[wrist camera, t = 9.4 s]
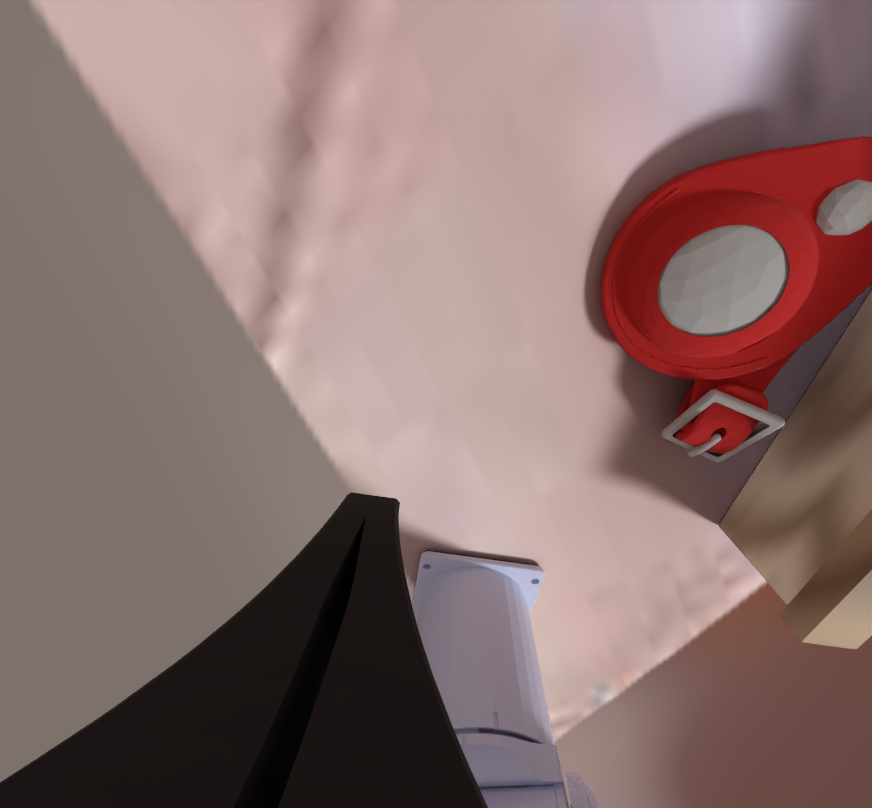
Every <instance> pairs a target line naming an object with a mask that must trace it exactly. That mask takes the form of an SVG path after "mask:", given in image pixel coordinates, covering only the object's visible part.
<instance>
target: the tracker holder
mask: <svg viewBox="0 0 872 808" xmlns="http://www.w3.org/2000/svg"><path fill="white" fill-rule="evenodd" d="M871 283H872V138H871V137H855V138H848V139H840V140H834V141H828V142H822V143H816V144H810V145H803V146H797V147H791V148H779V149H773V150H767V151H761V152H756V153H752V154H748V155H743V156H739V157H735V158H731V159H726V160H722V161H718V162H715V163H712V164H709V165H706V166H703V167H699V168H696V169H694V170H691V171H689V172H686V173H684V174H681V175H679V176H677V177H675V178H673V179H671V180H670V181H668V182H667V183H665V184H664V185H662V186H660V187H659V188H658V189H657V190H655V191H654V192H653V193H652V194H650V195H649V196H648V197H647V198H646V199H645V200H644V201H643V202H642V203H641V204H640V205H639V206H638V207H637V208H636V209H635V210H634V211H633V212H632V214H631V215H630V216H629V217H628V219H627V220H626V221H625V222H624V224H623V225H622V227H621V229H620V230H619V232H618V234H617V235H616V237H615V239H614V241H613V243H612V245H611V248H610V250H609V252H608V255H607V258H606V261H605V265H604V269H603V275H602V285H601V299H602V307H603V312H604V316H605V319H606V322H607V325H608V327H609V329H610V331H611V333H612V334H613V336H614V338H615V339H616V341H617V342H618V343H619V345H620V346H621V347H622V348H623V349H624V350H625V351H626V352H627V353H628V354H629V355H630V356H631V357H633V358H634V359H635V360H636V361H638V362H640V363H641V364H643V365H645V366H647V367H648V368H650V369H652V370H655V371H657V372H660V373H662V374H666V375H669V376H673V377H678V378H684V379H694V380H695V382H694V383H693V385H692V386H691V388H690V390H689V391H688V393H687V395H686V397H685V399H684V401H683V403H682V405H681V407H680V409H679V411H678V414H677V417H676V420H674V421H673V422H672V423H671V424H670V425H668V426H667V427H666V428H665V429H664V430H663V431H662V432H661V436H662V437H663V438H665V439H667V440H669V441H671V442H673V443H675V444H678V445H680V446H682V447H684V448H686V449H688V450H689V451H688V453H687V454H688V456H690V457H695V456H697V455H698V454H699V455H701V456H703V457H705V458H708V459H710V460H712V461H714V462H716V463H720V462H722V461H724V460H726V459H727V458H729V457H731V456H733V455H734V454H736V453H738V452H740V451H741V450H743V449H745V448H746V447H748V446H750V445H752V444H753V443H755V442H757V441H759V440H760V439H762V438H764V437H766V436H767V435H769V434H771V433H772V432H774V431H776V430H778V429H779V428H781V427H783V426H784V425H785V420H784V419H783V418H782V417H780V416H778V415H775V414H773V413H771V412H768V411H767V408H768V401H767V399H766V397H765V396H764V395H763V394H762V393H763V392H764V390H765V389H766V388H767V386H768V385H769V384H770V382H771V381H772V379H773V378H774V377H775V375H776V374H777V373H778V371H779V370H780V369H781V368H782V367H783V365H784V364H785V363H786V362H787V361H788V360H789V359H790V358H791V356H792V355H793V354H794V353H795V352H796V351H797V350H798V349H799V347H800V346H801V345H803V344H804V343H805V342H807V341H808V340H809V339H810V338H812V337H813V336H814V335H815V334H817V333H818V332H819V331H820V330H822V329H823V328H824V327H825V326H826V325H827V324H828V323H829V322H830V321H832V320H833V319H834V318H835V317H836V316H837V315H838V314H839V313H841V312H842V311H843V310H844V309H845V308H846V307H847V306H848V305H849V304H850V303H851V302H853V301H854V300H855V299H856V298H857V297H858V296H859V295H860V294H861V293H862V292H863V291H864V290H865V289H866V288H867V287H868V286H869V285H870V284H871ZM759 421H762V422H764V423H763V424H762V425H760V426H758V427H757V428H755V426H756V425H757V424H758V422H759ZM754 428H755V429H754ZM753 429H754V430H753Z"/></svg>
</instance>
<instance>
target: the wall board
mask: <svg viewBox="0 0 872 808" xmlns="http://www.w3.org/2000/svg"><path fill="white" fill-rule="evenodd" d="M718 526H719V527H720V528H721V529H722V530H723V532H724V533H725V534H726V535H727V536H728V537H729V538H730V540H731V541H732V542H733V543H734V544H735V545H736V546H737V548H738V549H739V550H740V551H741V552H742V553H743V555H744V556H745V557H746V558H747V559H748V560H749V561H750V563H751V564H752V565H753V566H754V567H755V568H756V569H757V571H758V572H759V573H760V574H761V575H762V576H763V577H764V579H765V580H766V581H767V582H768V583H769V584H770V585H771V587H772V588H773V589H774V590H775V591H776V592H777V593H778V595H779V596H780V597H781V598H782V599H783V600H784V602H785V603H786V604H787V606H786V607H785V609H784V610H783V611H782V612H781V613H780V614H779V615H780V617H781V618H782V619H783V620H784V621H785V623H786V624H787V625H788V626H789V627H790V629H791V630H792V631H793V632H794V633H795V635H796V636H797V637H798V638H799V639H800V641H801V642H806V643H814V644H821V645H828V646H836V647H843V648H851V649H857V648H858V647H859V646H860V645H862V644H863V643H864V642H865V641H866V640H867V639H868V638H869V637H870V636H871V635H872V291H871V292H870V294H869V295H868V297H867V298H866V300H865V301H864V303H863V304H862V306H861V307H860V309H859V310H858V312H857V314H856V315H855V317H854V318H853V320H852V321H851V323H850V324H849V326H848V327H847V329H846V330H845V332H844V333H843V335H842V337H841V338H840V340H839V341H838V343H837V344H836V346H835V347H834V349H833V350H832V352H831V353H830V355H829V357H828V358H827V360H826V361H825V363H824V364H823V366H822V367H821V369H820V370H819V372H818V373H817V375H816V376H815V378H814V380H813V381H812V383H811V384H810V386H809V387H808V389H807V390H806V392H805V393H804V395H803V396H802V398H801V400H800V401H799V403H798V404H797V406H796V407H795V409H794V410H793V412H792V413H791V415H790V416H789V418H788V419H787V421H786V423H785V425H784V426H783V427H782V429H781V430H780V432H779V433H778V435H777V436H776V438H775V439H774V441H773V442H772V444H771V446H770V447H769V449H768V450H767V452H766V453H765V455H764V456H763V458H762V459H761V461H760V462H759V464H758V466H757V467H756V469H755V470H754V472H753V473H752V475H751V476H750V478H749V479H748V481H747V482H746V484H745V485H744V487H743V489H742V490H741V492H740V493H739V495H738V496H737V498H736V499H735V501H734V502H733V504H732V505H731V507H730V508H729V510H728V512H727V513H726V515H725V516H724V518H723V519H722V521H721V522H720V524H719V525H718Z"/></svg>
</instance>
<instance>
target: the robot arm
mask: <svg viewBox="0 0 872 808" xmlns="http://www.w3.org/2000/svg"><path fill="white" fill-rule="evenodd" d="M399 505H400V503H399V501H398V500H397V499H394V498H387V497H379V496H372V495H365V494H358V493H350V494H348V495H347V496H346V498H345V499H344V501H343V502H342V503H341V505H340V506H339V507H338V509H337V510H336V511H335V512H334V514H333V515H332V516H331V517H330V519H329V520H328V521H327V522H326V523H325V525H324V526H323V527H322V528H321V529H320V531H319V532H318V533H317V534H316V535H315V536H314V537H313V539H312V540H311V541H310V542H309V543H308V544H307V545H306V546H305V547H304V549H303V550H302V551H301V552H300V553H299V554H298V555H297V556H296V557H295V558H294V559H293V560H292V561H291V562H290V563H289V564H288V565H287V566H286V567H285V568H284V569H283V570H282V571H281V572H280V573H279V574H278V575H277V577H275V578H274V579H273V581H272V582H270V583H269V584H268V585H267V586H266V587H265V588H264V589H263V590H262V591H261V592H260V593H259V594H258V595H257V596H255V598H253V599H252V600H251V601H250V602H249V603H248V604H247V605H245V606H244V607H243V608H242V609H241V610H240V611H239V612H237V613H236V614H235V615H234V616H233V617H232V618H231V619H229V620H228V621H227V622H226V623H225V624H223V625H222V626H221V627H220V628H218V629H217V630H216V631H215V632H214V633H212V634H211V635H210V636H209V637H207V639H205V640H204V641H203V642H201V643H200V644H199V645H198V646H196V647H195V648H194V649H193V650H191V651H190V652H189V653H187V655H185V656H184V657H182V658H181V659H180V660H178V661H177V662H176V663H174V664H173V665H172V666H170V667H169V668H168V669H166V670H165V671H164V672H162V673H161V674H160V675H158V676H157V677H155V678H154V679H152V680H151V681H150V682H148V683H147V684H146V685H144V686H143V687H142V688H140V689H139V690H137V691H136V692H135V693H133V694H132V695H130V696H129V697H128V698H126V699H125V700H124V701H122V702H121V703H119V704H118V705H117V706H115V707H114V708H112V709H111V710H109V711H108V712H107V713H105V714H104V715H102V716H101V717H100V718H98V719H97V720H95V721H93V722H92V723H90V724H89V725H87V726H86V727H84V728H83V729H81V730H80V731H78V732H77V733H75V734H74V735H72V736H71V737H69V738H68V739H66V740H65V741H63V742H62V743H60V744H58V745H57V746H55V747H54V748H52V749H51V750H49V751H48V752H46V753H45V754H43V755H42V756H40V757H39V758H38V759H36V760H34V761H33V762H31V763H29V764H28V765H27V766H25V767H23V768H22V769H20V770H19V771H17V772H16V773H14V774H13V775H11V776H9V777H8V778H6V779H5V780H3V781H2V782H0V808H569V806H568V801H567V796H566V791H565V786H564V781H563V776H562V772H561V767H560V762H559V758H558V752H557V748H556V745H554V740H553V734H552V729H551V724H550V719H549V714H548V708H547V703H546V698H545V693H544V688H543V682H542V677H541V672H540V667H539V662H538V656H537V651H536V646H535V641H534V636H533V630H532V625H531V620H530V612H531V610H532V607H533V605H534V602H535V600H536V597H537V595H538V592H539V590H540V587H541V585H542V582H543V580H544V577H545V573H544V570H543V568H542V567H539V566H534V565H526V564H519V563H512V562H504V561H497V560H490V559H482V558H475V557H468V556H460V555H453V554H446V553H438V552H431V551H426V552H423V553H422V554H421V556H420V562H419V568H418V574H417V580H416V585H415V591H414V598H413V604H411V600H410V595H409V591H408V587H407V582H406V577H405V572H404V566H403V560H402V554H401V547H400V539H399V525H398V514H399ZM427 564H428V565H427ZM566 777H567V782H568V787H569V792H570V797H571V801H572V804H571V805H570V806H571V808H600V807H599V803H598V800H597V797H596V794H595V792H594V790H593V789H592V788H591V787H590V786H589V785H588V784H587V783H586V782H585V781H582V778H581V776H580V774H579V773H578V772H566Z"/></svg>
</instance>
